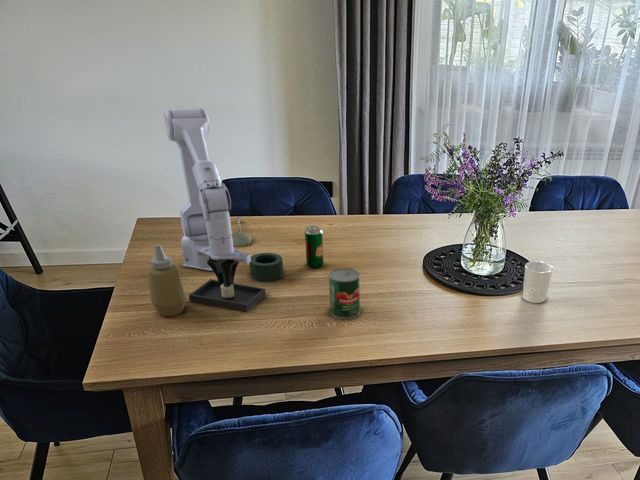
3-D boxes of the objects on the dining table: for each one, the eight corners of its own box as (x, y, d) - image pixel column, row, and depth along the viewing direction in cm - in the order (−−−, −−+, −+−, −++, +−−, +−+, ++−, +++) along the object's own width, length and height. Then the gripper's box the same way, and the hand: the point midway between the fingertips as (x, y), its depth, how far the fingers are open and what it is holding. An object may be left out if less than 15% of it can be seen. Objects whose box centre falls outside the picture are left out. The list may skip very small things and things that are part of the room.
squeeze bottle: (195, 307, 157) (183, 242, 148) (172, 321, 151) (159, 254, 141) (169, 301, 159) (156, 236, 150) (146, 314, 153) (131, 247, 143)
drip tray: (190, 301, 160) (188, 294, 159) (211, 285, 168) (210, 279, 167) (247, 312, 158) (246, 305, 157) (265, 295, 166) (265, 288, 165)
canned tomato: (346, 322, 158) (345, 284, 152) (323, 312, 161) (321, 274, 155) (366, 311, 164) (366, 273, 158) (343, 301, 167) (343, 265, 161)
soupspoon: (229, 249, 191) (251, 248, 194) (229, 239, 190) (251, 239, 192) (229, 221, 208) (249, 221, 211) (228, 212, 207) (249, 212, 209)
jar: (245, 278, 174) (243, 262, 171) (260, 266, 181) (258, 250, 179) (274, 283, 173) (273, 267, 170) (288, 271, 180) (287, 255, 177)
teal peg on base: (219, 296, 161) (216, 272, 158) (226, 291, 164) (222, 268, 160) (230, 298, 161) (227, 274, 157) (236, 293, 164) (233, 270, 160)
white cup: (529, 306, 174) (534, 274, 169) (515, 294, 180) (520, 263, 174) (552, 301, 177) (558, 270, 172) (537, 290, 183) (542, 259, 178)
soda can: (319, 270, 182) (317, 232, 176) (303, 267, 183) (301, 229, 177) (326, 263, 187) (324, 226, 180) (310, 261, 187) (308, 224, 181)
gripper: (184, 236, 151) (192, 285, 158) (238, 245, 149) (244, 294, 157) (200, 226, 157) (208, 274, 164) (252, 235, 155) (257, 283, 162)
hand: (226, 283), depth 161 cm, fingers closed on teal peg on base
